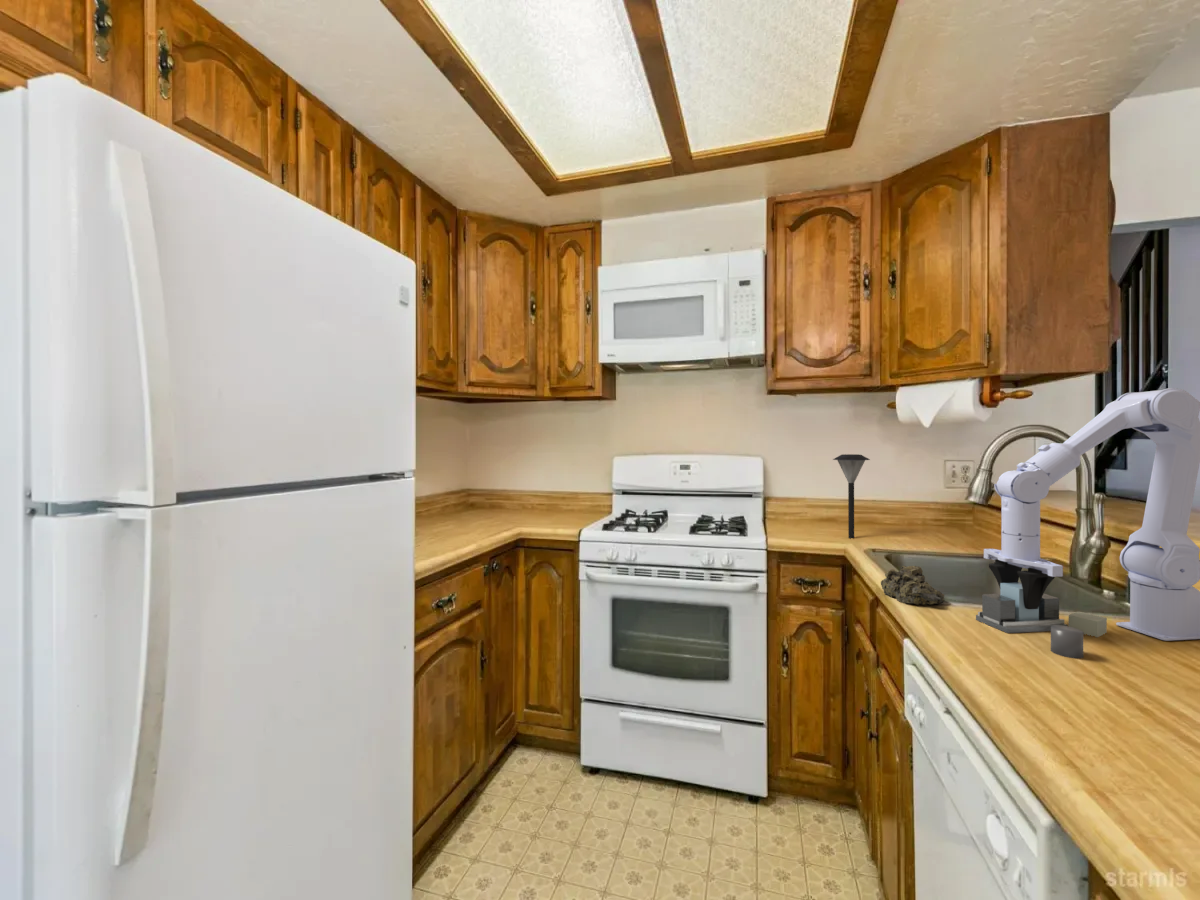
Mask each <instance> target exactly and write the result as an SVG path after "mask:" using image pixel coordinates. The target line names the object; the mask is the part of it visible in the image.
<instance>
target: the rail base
mask: <svg viewBox="0 0 1200 900" xmlns="http://www.w3.org/2000/svg"><path fill="white" fill-rule="evenodd" d="M981 596H982V597H981V598H982V599H981V602H982V603H981V604H982V605H981V606H982V608H981V610H982V611H978V612H977V614H976V615H975V621H977V622H980V623H982V622H983V623H982V624H984V623H985V624H984V625H987V626H990V627H992V628H994V629H996V630H998V631H1001V632H1003V631H1004V633H1006V634H1016V633H1017V634H1018V633H1036V632H1037V633H1039V632H1040V633H1041V632H1051V626H1053V625H1062V626H1068V624H1066V623H1065V619H1064V618H1060V598H1059V597H1056V596H1053V595H1050V594H1047V593H1044V594H1043V596H1042V598H1041V601H1040V604H1039V620H1027V621H1018V620H1015V600H1013V599H1010V598H1007V597H1005V596H1002V595H1000V594H998V593H983V594H982V595H981Z"/></svg>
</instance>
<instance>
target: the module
mask: <svg viewBox="0 0 1200 900" xmlns="http://www.w3.org/2000/svg"><path fill="white" fill-rule="evenodd" d="M999 590H1000V594H999V595H1002V596H1005V597H1007V598H1010V599H1013V600H1015V620H1018V621H1027V620H1039V607H1038V609H1026V608H1025V606H1024V599H1023V588H1022V584H1021V581H1020V582H1019V581H1018V582H1013V583H1000V587H999Z"/></svg>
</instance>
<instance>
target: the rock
mask: <svg viewBox="0 0 1200 900" xmlns="http://www.w3.org/2000/svg"><path fill="white" fill-rule="evenodd" d="M884 576H885V578H884V579H881V581H880V586H881V588H882V591H883V593H884V595H887V596H889V597H890V598H893V597H894V598H895V599H896V600H897V601H898V602H899V603H903V604H914V605H916V606H919V605H934V604H940V603H941V604H942V603H944V601H945V600H944V599H945V593H943V592H941V591H940V590H937V589H935V588H934V587H932V585H931V584H930V583H929V582H928V581H926V577H925V575H924V574H923V569H922V566H917V565H908V566H907V565H901V567H900V569H899V571H897V570H896V569H894V568H892V569H890V570H888V571H886V572H885V573H884Z"/></svg>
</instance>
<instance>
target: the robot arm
mask: <svg viewBox="0 0 1200 900" xmlns="http://www.w3.org/2000/svg"><path fill="white" fill-rule="evenodd" d="M1199 414H1200V401H1199V400H1198V399H1197V398H1196V397H1194V395H1192V394H1190V393H1189V392H1188V391H1187V390H1184V389H1182V388H1178V387H1177V388H1176V387H1169V388H1164V389H1158V390H1157V389H1156V390H1150V391H1140V392H1139V391H1138V392H1137V391H1136V392H1135V391H1133V392H1132V391H1131V392H1126V393H1124V394H1121V395H1120V396H1119V397H1117V398H1116V399H1115V400H1114V401H1111V402H1108V403H1107V404H1106V405H1105V407H1104V409H1103V410H1102V411H1101V412H1100V413H1098V414H1097V415H1096V416H1095V417H1093V418H1092V419H1091V420H1089V421H1088V422H1087V423H1086V424H1085V425H1084V426H1082V427H1081V428H1079V429H1078V430H1077V431H1076V432H1074V434H1072V435H1071V436H1070V437H1069V438H1067V439H1066V440H1065V441H1063V443H1061V442H1060V443H1059V442H1052V443H1049V444H1042V445H1041V446H1039V447H1038V448H1037V450H1038V452H1037V453H1036V454H1034V455H1033V456H1031V457H1030V458H1028V459H1027V460H1026V461H1024V462H1019V463H1017V464H1016V470H1015V469H1014V470H1008V471H1004V472H1003V473H1001V475H1000V476H998V480H997V481H996V483H995V484H993V487H994V490H995V492H996V494H997V495H998V496H999V497H1000V500H1001V501H1000V502H1001V511H1000V512H1001V514H1000V515H1001V519H1000V520H1001V532H1000V533H1001V535H1000V537H1001V543H1000V544H1001V546H1000V548H1001V549H996V548H983V559H986V560H993V561H994V562H993V563H989V564H988V568H989V570H990V571H991V572H992V574H993V575H994V578H995V580H996V582H997V584H998V585H997V586H998V587H999V588H1000V583H1013V582H1019V580H1020V583H1021V584H1022V588H1023V599H1024V606H1025V608H1026V609H1038V607H1039V604H1040V601H1041V598H1042V596H1043V594H1045V592H1046V589H1047V588H1048V586H1049V585H1050V584H1051V582H1052V581H1053V580H1054V579H1055V578H1056V577H1063V576H1064V575H1063V574H1064V573H1063V571H1064V570H1063V565H1062V564H1057V563H1054V562H1052V561H1049V560H1047V559H1045V558H1041V500H1043V499H1046V497H1047V495H1049V491H1050V487H1051V486H1052V485H1054V484H1055V483H1057V482H1058V481H1060V480H1061V479H1062V478H1064V477H1065V476H1067V475H1068V474H1069V473H1070V472H1073V471H1074V470H1075V469H1076V468H1079V466H1080V465H1081V456H1082V455H1084V454H1085V453H1087V452H1089V451H1090V450H1092V449H1093V448H1095V447H1096V446H1098V445H1099V444H1101V443H1104V441H1106V440H1107V439H1109V438H1111V437H1112V436H1114V435H1116V434H1117V433H1118V432H1120V431H1122V430H1125V429H1133V430H1135V431H1138V432H1140V433H1142V434H1144V435H1145V436H1147V437H1148V438H1149V439H1150V440H1151V441H1153V442H1154V443H1155V444H1156V447H1155V452H1154V458H1153V464H1152V468H1151V469H1152V470H1151V474H1150V475H1151V476H1150V481H1149V486H1148V492H1147V497H1146V501H1145V502H1146V503H1145V509H1144V513H1143V514H1144V515H1143V518H1142V525H1141V527H1140V528H1139V529H1137V530H1135V531H1134V532H1132V533H1131V534H1130V535H1129V537H1128V541H1127V543H1126V545H1125V546H1124V548H1123V549H1122V550H1121V551H1120V555H1119V562H1120V565H1121V567H1122V568H1123V569H1124V570H1125V571H1126V572H1127V574H1128V578H1129V581H1130V582H1129V587H1130V590H1129V591H1130V592H1129V593H1130V594H1129V598H1130V599H1129V603H1130V604H1129V621H1120V622H1119V621H1118V622H1115V624H1116V626H1118V627H1122V628H1124V629H1128V630H1130V631H1131V630H1132V631H1134V632H1137V633H1140V634H1143V635H1146V636H1149V637H1152V638H1155V639H1158V640H1161V641H1165V642H1166V641H1171V642H1172V641H1184V640H1185V641H1188V640H1200V590H1198V589H1197V588H1196V587H1194V586H1195V585H1196V584H1197V583H1198V582H1199V581H1200V547H1199V545H1198V544H1196V543H1195V542H1194V541H1193V539H1191V538H1190V537H1189V535H1188V529H1189V523H1190V518H1191V513H1192V506H1193V501H1194V496H1195V491H1196V485H1197V480H1198V475H1199V468H1200V419H1199V416H1200V415H1199ZM1023 569H1027V570H1023Z"/></svg>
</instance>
